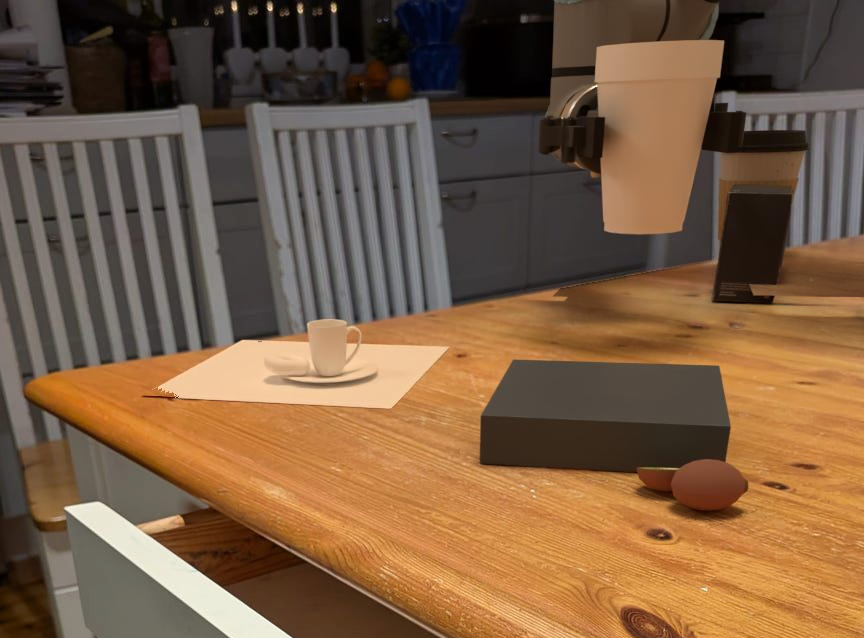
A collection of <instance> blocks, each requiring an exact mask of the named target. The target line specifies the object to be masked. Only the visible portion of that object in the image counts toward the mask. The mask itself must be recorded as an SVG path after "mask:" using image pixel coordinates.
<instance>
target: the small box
mask: <svg viewBox="0 0 864 638" xmlns="http://www.w3.org/2000/svg"><path fill="white" fill-rule="evenodd" d="M792 205H793V202H792V186H781V185H756V184H734V185H733V186H732V188H731V189H730V190H729V192H728V194H727V200H726V207H725V215H724V222H723V228H722V236H721V241H720V250H719V249H718V258H717V264H716V270H715V276H714V281H713V286H712V287H713V288H712V294H711V301H713V302H715V301H718V302H719V301H720V302H742V303H743V302H745V303H766V304H773V303H774V300H775V295H773V294H772V295H766V294H764V295H762V294H761V295H760V294H754V293H753V290H752V288H751V286H750V285H753V286H755V285H756V286H776V285H778V284H779V281H780V276H781V271H782V267H783V262H784V257H785V251H786V247H787V246H786V245H787V241H788V235H789V229H790V223H791V217H792Z"/></svg>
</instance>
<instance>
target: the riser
mask: <svg viewBox="0 0 864 638" xmlns="http://www.w3.org/2000/svg"><path fill="white" fill-rule="evenodd" d="M479 424H480V430H479V464H480V465H481V464H482V465H496V466H497V465H500V466H517V467H533V468H534V467H535V468H536V467H537V468H552V469H553V468H554V469H568V470H569V469H571V470H573V469H574V470H588V471H589V470H591V471H604V472H605V471H608V472H625V473H638V472H637V469H636V468H639V467H664V468H681V467H682V466H683V465H686V464H688V463H690V462H693V461H697V460H703V459H711V460H719V461H722V462H725V463H727V454H728V448H729V442H730V435H731V428H732V425H731V421H730V415H729V409H728V405H727V399H726V394H725V388H724V383H723V378H722V372H721V368H720V365H716V364H715V365H714V364H713V365H712V364H681V363H676V364H675V363H649V362H648V363H647V362H646V363H645V362H614V361H613V362H612V361H579V360H578V361H577V360H574V361H573V360H546V359H545V360H544V359H543V360H542V359H514V358H513V359H512V361H511V362H510V365H509V366H508V367H507V370H506V371H505V373H504V375H503V376H502V378H501V379H500V382H499V383H498V384H497V387H496V388H495V390H494V392H493V394H492V395H491V397H490V399H489V400H488V401H487V404H486V405H485V407H484V409H483V411H482V412H481V414H480V423H479Z"/></svg>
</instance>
